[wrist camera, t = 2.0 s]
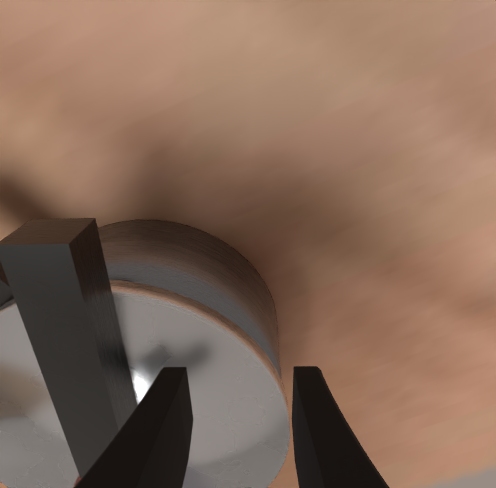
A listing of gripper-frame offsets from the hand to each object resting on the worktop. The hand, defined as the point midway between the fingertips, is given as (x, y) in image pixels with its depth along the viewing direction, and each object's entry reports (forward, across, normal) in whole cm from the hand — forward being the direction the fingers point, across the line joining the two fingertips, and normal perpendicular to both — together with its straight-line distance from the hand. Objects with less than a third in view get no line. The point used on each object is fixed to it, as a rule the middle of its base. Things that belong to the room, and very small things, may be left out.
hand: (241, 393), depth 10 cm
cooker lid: (+4, +5, +5) cm, 8 cm away
